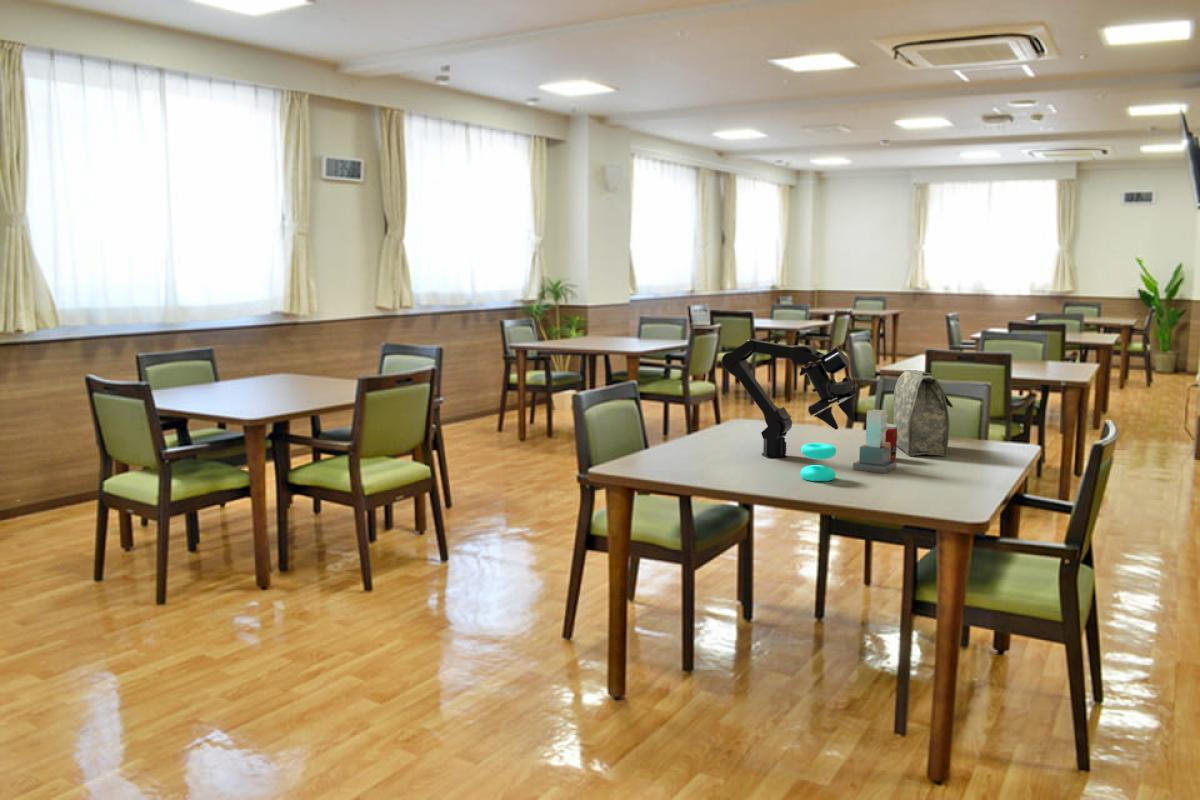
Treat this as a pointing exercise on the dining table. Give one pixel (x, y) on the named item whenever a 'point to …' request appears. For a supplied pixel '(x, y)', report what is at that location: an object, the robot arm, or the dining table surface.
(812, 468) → the donuts
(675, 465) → the dining table surface
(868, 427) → the column
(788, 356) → the robot arm
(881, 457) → the stand base
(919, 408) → the bag
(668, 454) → the dining table surface
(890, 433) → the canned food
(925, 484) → the dining table surface
